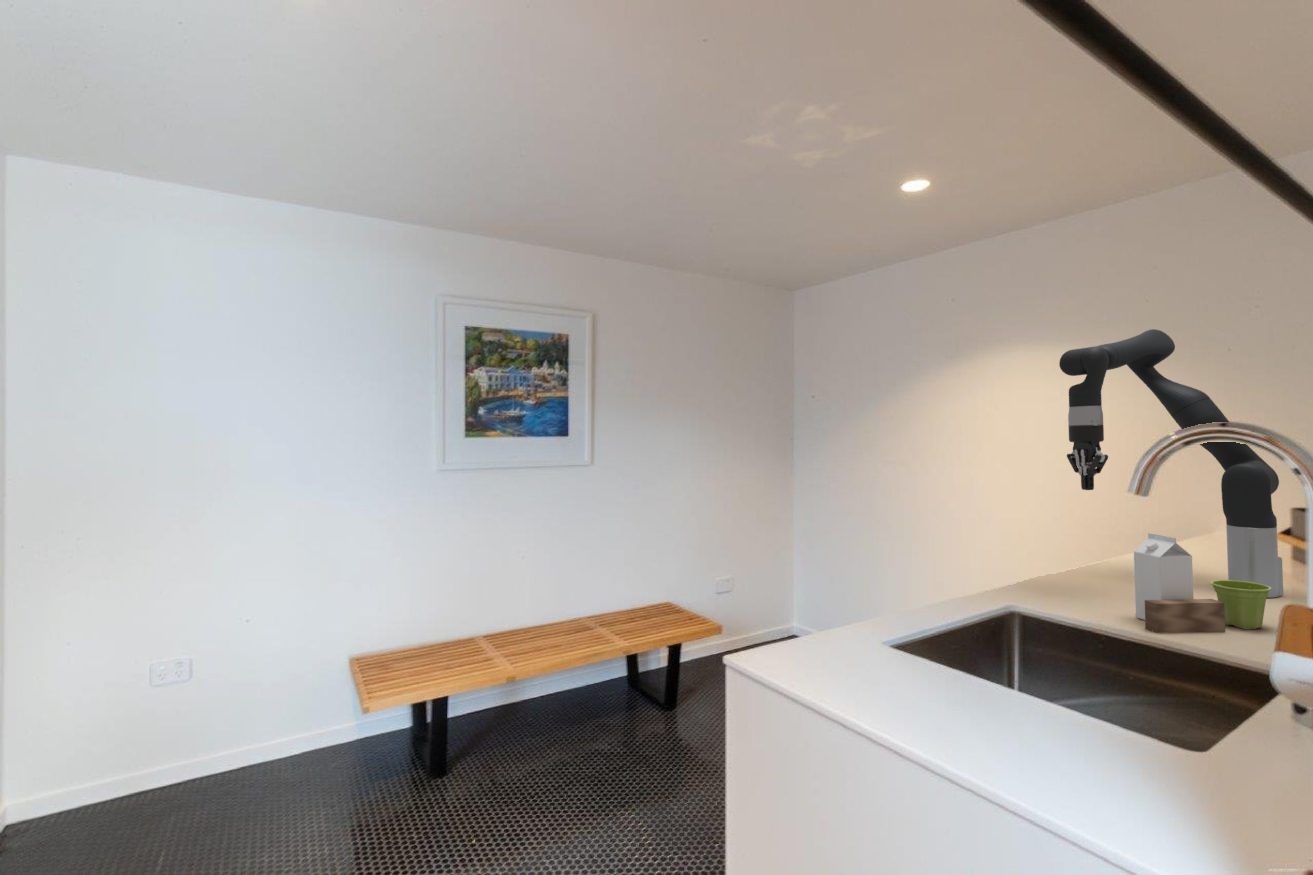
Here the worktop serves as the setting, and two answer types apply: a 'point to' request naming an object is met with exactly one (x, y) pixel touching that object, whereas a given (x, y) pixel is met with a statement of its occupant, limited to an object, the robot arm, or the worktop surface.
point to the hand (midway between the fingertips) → (1087, 489)
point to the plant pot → (1242, 602)
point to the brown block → (1185, 615)
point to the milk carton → (1161, 572)
